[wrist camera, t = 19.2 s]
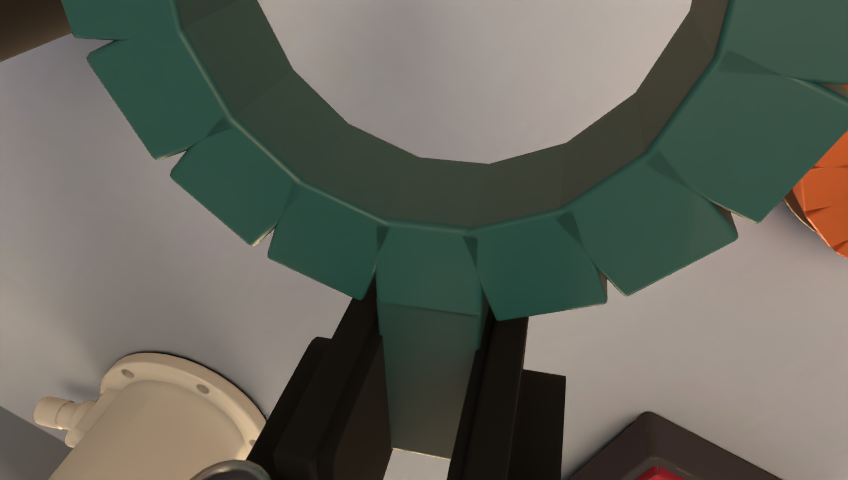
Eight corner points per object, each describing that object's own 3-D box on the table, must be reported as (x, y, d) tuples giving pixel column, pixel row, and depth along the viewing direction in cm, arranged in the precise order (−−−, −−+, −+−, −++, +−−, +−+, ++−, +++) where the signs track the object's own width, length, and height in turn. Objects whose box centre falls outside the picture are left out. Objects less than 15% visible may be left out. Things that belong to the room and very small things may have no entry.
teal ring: (23, -550, 6) (-178, -683, 5) (1094, -731, 4) (1389, -1060, 3) (248, 341, 13) (200, 412, 12) (686, 414, 11) (699, 509, 10)
